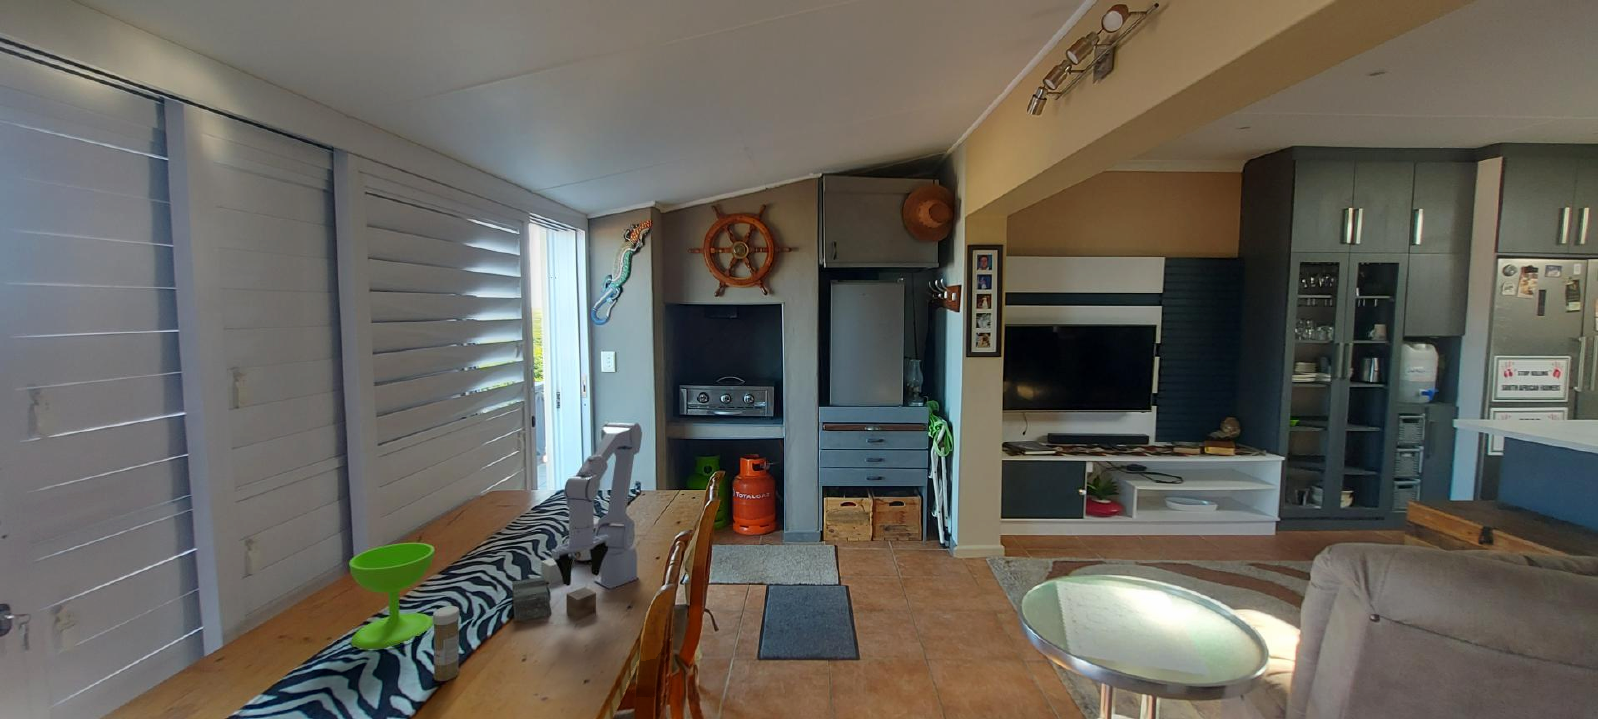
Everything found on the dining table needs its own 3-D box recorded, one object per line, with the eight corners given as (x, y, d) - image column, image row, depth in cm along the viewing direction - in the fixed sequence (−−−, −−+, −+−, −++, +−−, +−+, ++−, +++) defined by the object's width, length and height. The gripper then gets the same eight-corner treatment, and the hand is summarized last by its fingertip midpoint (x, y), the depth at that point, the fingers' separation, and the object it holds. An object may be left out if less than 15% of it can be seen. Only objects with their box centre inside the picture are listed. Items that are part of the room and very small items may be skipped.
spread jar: (609, 558, 181) (610, 521, 181) (578, 571, 172) (578, 531, 171) (584, 550, 188) (584, 514, 187) (552, 561, 178) (552, 523, 178)
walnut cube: (584, 606, 151) (584, 587, 150) (595, 612, 147) (596, 593, 147) (566, 613, 147) (566, 593, 146) (577, 620, 143) (577, 599, 143)
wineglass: (451, 622, 141) (450, 548, 140) (385, 657, 126) (383, 574, 125) (402, 611, 146) (401, 539, 145) (332, 643, 131) (331, 563, 130)
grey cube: (557, 573, 170) (557, 556, 170) (567, 578, 167) (567, 560, 167) (541, 578, 166) (541, 561, 166) (550, 583, 163) (550, 566, 163)
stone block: (549, 593, 158) (549, 573, 158) (554, 616, 146) (554, 595, 145) (512, 598, 154) (512, 579, 154) (513, 623, 141) (514, 602, 141)
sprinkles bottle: (430, 676, 119) (429, 610, 119) (454, 666, 123) (454, 602, 122) (438, 685, 116) (437, 618, 116) (463, 675, 120) (462, 610, 119)
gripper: (562, 536, 138) (562, 593, 138) (616, 521, 149) (616, 574, 150) (546, 529, 142) (546, 585, 143) (600, 515, 153) (600, 567, 154)
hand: (581, 579), depth 147 cm, fingers open, 7 cm apart
